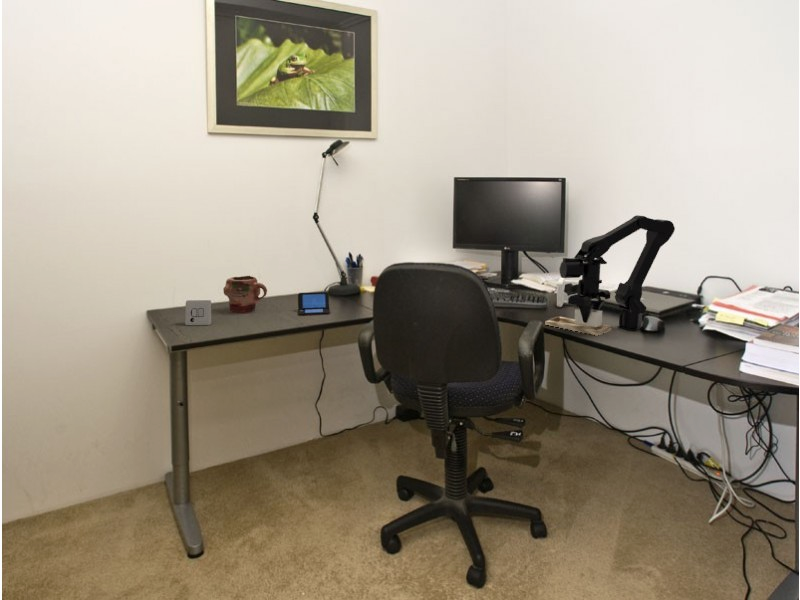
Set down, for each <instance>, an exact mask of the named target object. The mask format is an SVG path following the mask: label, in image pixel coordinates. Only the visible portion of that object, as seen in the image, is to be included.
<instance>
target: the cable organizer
mask: <svg viewBox="0 0 800 600" xmlns="http://www.w3.org/2000/svg"><path fill="white" fill-rule="evenodd" d="M581 279H582V277H580V280H581ZM570 283H571V284H572V285H577V284H578V283H579V280H574V279H573V280H570V279H567V278H562V277H561V276H560V277H559V279H558V280H557V281H556V287H557V290H556V306H557V307H558V308H562V307H563V305H564V304H568V298H569V297H570V296H572V295H569V296H567V293H565V292H564V288H565V285H566V284H570ZM573 295H576V294H573Z"/></svg>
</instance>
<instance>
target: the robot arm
mask: <svg viewBox="0 0 800 600" xmlns="http://www.w3.org/2000/svg"><path fill="white" fill-rule="evenodd" d="M639 230H645V231H646V233H645V237H646V241H645V244H644V247H643V248H642V251H641V252H640V254H639V257H638V258H637V261H636V262H635V265H634V267H633V269H632V271H631V273H630V276H629V277H628V280H626V281H625V282H623V283H622V282H619V284H618V287H617V289H616V290H615V291H614V293H615V295H614V299H615V302H616V303H617V304H618V307H619V309H620V310H621V311H620V313H619V314H618V315H619V317H618V318H619V319H618V326H617V328H619V329H624V330H630V331H635V332H636V331H639V330H640V328H641V326H642V322H643V321H642V320H643V314H645V312H646V311H647V306H646V305H645V304H644V303H643V302H642V301H641V299H642V296H643V284H644V282H645V280H646V278H647V276H648V274H649V272H650V270H651V268H652V265H653V264H654V262H655V259H656V257H657V255H658V253H659V251H660V249H661V248H662V247H663V246H664V244H666V243H667V242H668V241H669V240H670V239H671V237H672V236H673V234H674V232H675V230H676V227H675V224H674V223H673V221H671V220H668V219H659V218H658V219H655V218H654V219H653V218H649V217H647V216H644V215H638V214H637V215H634V216H633V217H632V218H630V219H629V220H626V221H625V222H623V223H622V224H620V225H618V226H616V227H614V228H613V229H611V230H609V231H608V232H606V233H605V234H601V235H598V236H594V237H591V238H589V239H586V240H584V241H583V242H582V244H581V246H580V247H581V248H580V249H579V250H578V251H577V253H576V254H575V256H574V257H571V258H568V257H563V258H562V261H561V263H560V266H559V268H558V269H559V275H560V278H561V277H562V278H566V279H571V278H573V279H574V278H575V279H576V278H580V279H579V280H578V281H579V283H578V284H577V285H572V284H571V283H570V284H566V285H565V288H564V292H565V293H567V296H569V295H572V296H570V297H569V298H568V302H567V305H573V306H576V307H578V308H579V309H580V312H581V315H582V319H583V322H584V323H587V321H588V318H589V316H590V313H591V310H592V309H593V310H599V311H600V309H601V307H603V304H604V303H605V301H606V300H609V299H611V292H610V290H608V289H601V288H600V284H602V283H603V279H600V278H601V277H600V276H601V265H606V264H608V261H606V260H605V259H604V258H603V255H605V254H606V253H607V252H608V251H609V250H610V249H611V247H612V246H614V245H615V244H616V243H618V242H620V241H622V240H624V239H625V238H627V237H629V236H630V235H632V234H634V233H636V232H638V231H639ZM581 276H582V277H581ZM581 278H582V279H581ZM573 294H576V295H573ZM602 298H603V299H604V300H603V299H602ZM641 329H642V328H641Z"/></svg>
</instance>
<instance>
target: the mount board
mask: <svg viewBox="0 0 800 600" xmlns="http://www.w3.org/2000/svg"><path fill="white" fill-rule="evenodd" d="M544 323H545V325H549V326H548V327H550V326H554V327H553V328H555V327H559V328H558V329H560V328H563V329H562V330H565V329H568V330H567V331H570V330H572V331H571V332H575V331H578V332H577V333H580V332H582V333H581V334H584V333H587V334H586V335H589V334H591V335H590V336H594V335H595V337H599V336H601V335H604V334H606V333H608V332H611V331H612V327H613V326H612V325H609V324H602V325H601V326H598V327H591V326H586V325H581V324H576V323H575V318H570V317H565V316H554V317H551V318H549V319H547V320H545V322H544ZM603 333H604V334H603ZM598 335H599V336H598Z"/></svg>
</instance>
